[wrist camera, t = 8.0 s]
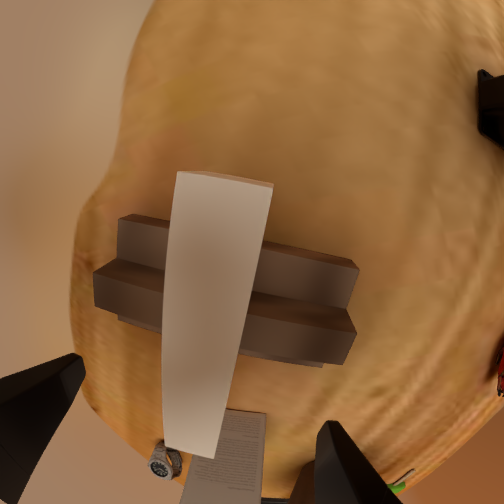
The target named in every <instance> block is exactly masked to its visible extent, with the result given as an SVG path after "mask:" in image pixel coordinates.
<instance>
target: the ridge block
mask: <svg viewBox="0 0 504 504" xmlns="http://www.w3.org/2000/svg"><path fill="white" fill-rule="evenodd" d="M169 228H170V221H166V220H161V219H156V218H151V217H146V216H141V215H135V214H131V215H128V216H125V217H122V218H119V219H118V235H117V258H116V259H114V260H112V261H111V262H109V263H107V264H106V265H104V266H103V267H101V268H99V269H98V270H96V271H95V272H93V287H94V302H95V306H96V307H99V308H101V309H104V310H107V311H110V312H112V313H115V314H118V320H120V321H123V322H126V323H129V324H132V325H135V326H138V327H141V328H144V329H147V330H151V331H154V332H157V333H160V334H162V317H163V297H164V281H165V268H166V257H167V247H168V237H169ZM358 273H359V269H358V267H357V266H356V265H355V264H354V262H353V261H352V260H349V259H345V258H340V257H336V256H331V255H327V254H323V253H318V252H313V251H309V250H304V249H300V248H295V247H291V246H286V245H281V244H277V243H272V242H268V241H263V240H262V245H261V250H260V254H259V259H258V264H257V268H256V273H255V277H254V282H253V287H252V291H251V296H250V300H249V305H248V310H247V314H246V319H245V323H244V328H243V332H242V337H241V341H240V346H239V350H238V354H243V355H248V356H253V357H258V358H263V359H268V360H274V361H280V362H286V363H292V364H298V365H305V366H312V367H320V368H322V366H323V364H324V363H329V364H337V365H343V363H344V361H345V359H346V357H347V355H348V353H349V350H350V348H351V346H352V344H353V342H354V339H355V337H356V335H357V332H356V330H355V327H354V325H353V323H352V321H351V319H350V316H349V314H348V312H347V310H346V308H347V305H348V302H349V299H350V297H351V294H352V291H353V288H354V285H355V282H356V279H357V276H358Z"/></svg>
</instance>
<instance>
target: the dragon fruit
mask: <svg viewBox="0 0 504 504" xmlns="http://www.w3.org/2000/svg"><path fill="white" fill-rule="evenodd" d="M501 358H502V359H501ZM500 360H501V362H500V366H499V368H498V385H497V391H498V396H500V395H501V393H504V347H503V348H502V349H501V350H500V351H499V354H498V356H497V360H496V363H495V364H496V365H497V364H498V363H499V361H500ZM501 389H502V390H501ZM502 397H504V394H503V396H502Z"/></svg>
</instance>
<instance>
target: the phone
mask: <svg viewBox="0 0 504 504" xmlns="http://www.w3.org/2000/svg"><path fill="white" fill-rule="evenodd" d="M288 501H289V499H281V498H263V497H261V504H287V503H288Z"/></svg>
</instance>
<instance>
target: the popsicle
mask: <svg viewBox="0 0 504 504" xmlns="http://www.w3.org/2000/svg"><path fill="white" fill-rule="evenodd" d="M414 472H415V470H412V471H410V472H409V473H408V474H406V475H405V476H404V477H403V478H401V479H400V480H399V481H397V482H396V483H393V484H387V485H388V488H390V489H391V490H392V492H393V493H394V494H396V493H398V492H399V491H401V490H402V489H404V488H405V482H402V481H403V480H405V479H406V478H407V477H409V476H410V475H411V474H412V473H414Z"/></svg>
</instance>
